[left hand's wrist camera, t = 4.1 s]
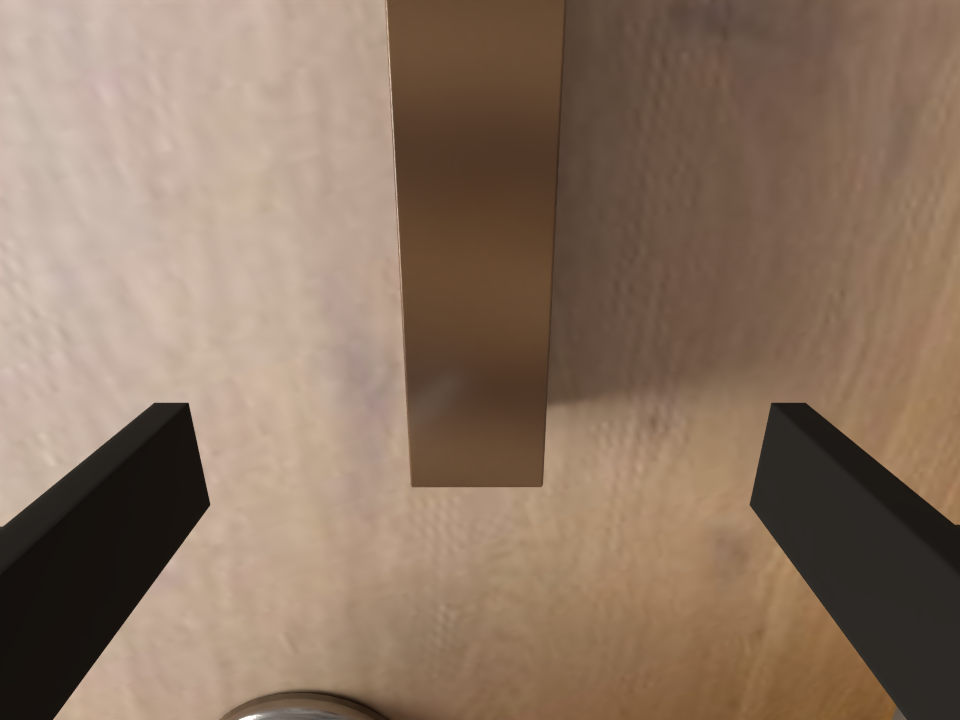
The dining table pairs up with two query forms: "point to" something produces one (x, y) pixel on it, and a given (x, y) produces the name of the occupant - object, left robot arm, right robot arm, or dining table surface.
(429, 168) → the post
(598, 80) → the dining table surface
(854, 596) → the left robot arm
